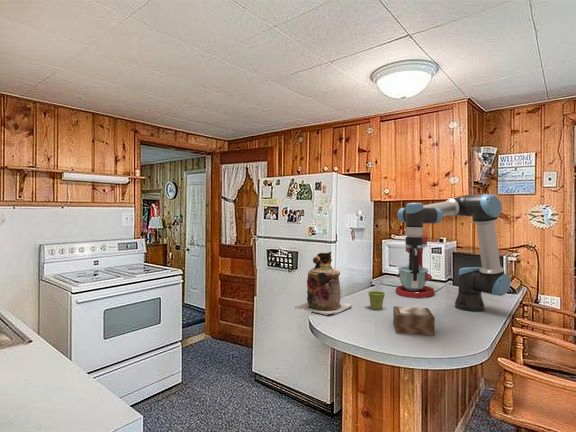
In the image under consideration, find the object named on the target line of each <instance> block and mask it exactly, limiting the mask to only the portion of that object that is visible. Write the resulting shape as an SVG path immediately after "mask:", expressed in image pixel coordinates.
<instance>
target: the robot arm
mask: <svg viewBox="0 0 576 432" xmlns="http://www.w3.org/2000/svg"><path fill="white" fill-rule="evenodd" d="M502 207H503V206H502V202H501V200H500V198H499V197H497V195H495V194H488V193H482V194H465V195H461V196H456V197H452V198H448V199H447V200H445V201H441V202H435V203H430V204H424V203H422V202H407V203H406V206H405V207H401V208H399V209H398V211H397V213H396V215H397V216H396V217H397V219H398V221H399V222H401V223H405V228H404V229H403V230H404V232H405V236H406V237H405V242H404V243H405V244H406V245H411V247H410V248H409V253H408V266H409V270H412V272H410V273H412V275H411V288H418V273H419V249H418V247H417V246H418V245H422V244H423V238H422V236H423V234H424V224H433V225H435V224H439V223H441V222H442V220H443V218H444V217H445V216H449V217H458V216H459V217H471V218H472V222H473V223H474V224H476V231H477V237H478V247H479V254H480V263H481V267H479V266H477V267H475V266H474V267H470V266H469V267H461V268H460V269H459V270H458V274H457V275H458V276H457V277H458V293H457V296H456V299H455V301H454V307H455V308H457V309H459V310H461V311H469V312H484V311H485V309H486V308H485V307H486V306H485V302H484V300H483V297H482V293H484V294H488V295H493V296H499V297H501V296H504V295H506V294H507V293H508V292H509V290H510V289H511V288H510V287H511V283H512V280H511V277H510V276H509V274H507V273H505V268H503V267H502V266H501V261H500V254H499V245H498V237H497V231H496V221H498V219H499V218H498V217H499V216H500V215H501V214H502V210H503V209H502Z"/></svg>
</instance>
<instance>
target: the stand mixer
mask: <svg viewBox="0 0 576 432" xmlns="http://www.w3.org/2000/svg"><path fill="white" fill-rule="evenodd" d="M422 238H423V244H422V245H418V246H417V247H418V249H419V271H421V272H422V273H423V289H422V288H406V286H405V270H409V265H406V266H398V268H397V270H398V273H397V274H396V277H397V279H398V278H399V281H400V283H401V285H398V286H396V288H395V293H396V295H398V296H401V297H405V298H411V299H424V298H423V297H427V298H430V297H429V296H432V295H433V296H435V289H434V288H433V287H431V286H428V285H426V283H427V281H431V280H432V279H433V276H432V275H431V274H430V273H429V268H426V267H424V266H423V253H424V248H425V247H428V241H429V240H428V237H427V235H426V234H424V233H423V236H422ZM410 247H411V245H406V243H405V252H407V253H408V254H409V248H410ZM415 292H419V293H415ZM433 296H432V297H433Z"/></svg>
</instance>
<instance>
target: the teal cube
mask: <svg viewBox="0 0 576 432" xmlns="http://www.w3.org/2000/svg"><path fill="white" fill-rule="evenodd" d="M410 272H412V270H405V286H406V288H411V275H412V273H410ZM418 288H422V289H423V273H422V272H421V271H419V273H418Z"/></svg>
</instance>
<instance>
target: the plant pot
mask: <svg viewBox="0 0 576 432" xmlns="http://www.w3.org/2000/svg"><path fill="white" fill-rule="evenodd" d="M367 294H368V297H369V303H370V308H371V309H373V310H377V311H379V310H383V309H382V308H383V304H384V303H383V302H384V298H385V295H386V293H385V292H384V291H377V290H373V291H372V290H371V291H368V292H367Z"/></svg>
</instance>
